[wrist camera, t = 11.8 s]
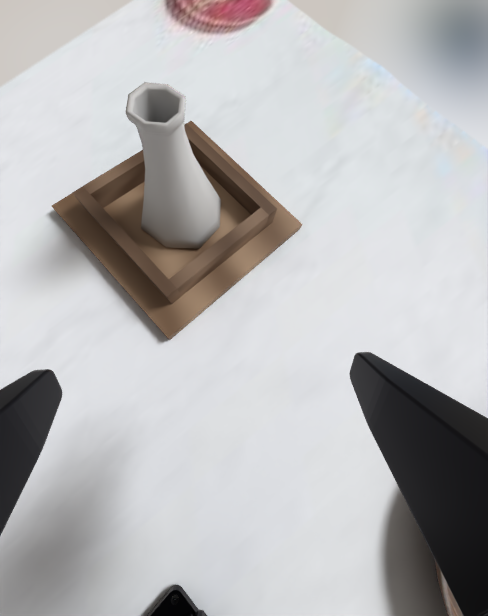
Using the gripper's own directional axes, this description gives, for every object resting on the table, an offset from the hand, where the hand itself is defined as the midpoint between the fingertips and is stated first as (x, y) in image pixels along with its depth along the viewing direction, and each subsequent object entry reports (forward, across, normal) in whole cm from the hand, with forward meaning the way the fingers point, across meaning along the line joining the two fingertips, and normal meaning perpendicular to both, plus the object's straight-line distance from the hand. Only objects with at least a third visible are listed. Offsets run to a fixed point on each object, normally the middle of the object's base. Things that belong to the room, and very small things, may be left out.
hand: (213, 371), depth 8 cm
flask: (+19, +3, -1) cm, 20 cm away
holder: (+20, +3, -1) cm, 20 cm away
